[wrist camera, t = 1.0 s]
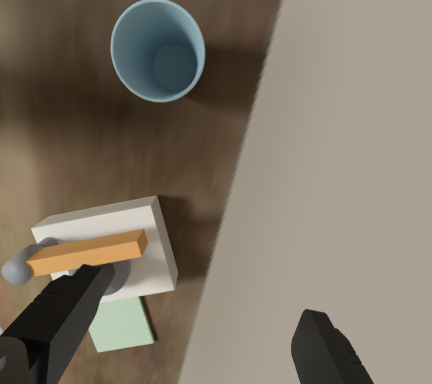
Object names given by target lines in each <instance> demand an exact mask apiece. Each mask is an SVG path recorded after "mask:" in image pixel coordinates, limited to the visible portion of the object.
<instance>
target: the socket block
mask: <svg viewBox="0 0 432 384" xmlns="http://www.w3.org/2000/svg"><path fill="white" fill-rule="evenodd" d="M139 229H144V230H145V234H146V237H147V240H148V245H147V247H146V249H145V251H144V253H143V255H142V257H138V258H132V259H129V260H130V266H131V270H130V274H129V277H128V279H127V281H126V283H125V284H124V286H123V287H122V288H121V289H120V290H119V291H117V292H116V293H114V294H111V295H107V296H103V297H102V299H101V300H100V303H104V302H109V301H115V300H121V299H126V298H132V297H138V296H143V295H149V294H155V293H160V292H166V291H172V290H175V286H176V281H177V276H178V270H177V266H176V263H175V259H174V255H173V252H172V248H171V244H170V241H169V237H168V233H167V230H166V226H165V222H164V219H163V215H162V211H161V208H160V204H159V201H158V197H157V195H155V196H150V197H145V198H140V199H135V200H130V201H124V202H119V203H114V204H109V205H104V206H99V207H94V208H89V209H83V210H78V211H73V212H68V213H63V214H58V215H53V216H49V217H47V218H46V219H44V220H43V221H41V222H40V223H38V224H37V225H35V226H34V227H32V228H31V230H32V232H33V234H34V237H35V239H36V241H37V245H40V246H42V247H50V246H55V245H60V244H65V243H71V242H76V241H81V240H87V239H92V238H97V237H102V236H108V235H113V234H118V233H124V232H129V231H134V230H139ZM62 275H69V272H68V270H67V271H62V272H56V273H51V277H52V279H53V280H55V279H57V278H59V277H60V276H62Z"/></svg>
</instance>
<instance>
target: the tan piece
mask: <svg viewBox="0 0 432 384" xmlns="http://www.w3.org/2000/svg"><path fill="white" fill-rule="evenodd" d="M147 245H148V240H147V237H146V234H145V230H144V229H139V230H134V231H129V232H124V233H118V234H113V235H108V236H102V237H97V238H92V239H87V240H81V241H76V242H71V243H65V244H60V245H55V246H50V247H42V246H40V245H37V244H33V245H29V246H28V247H27V248H25V249H24V250H23V251H21V252H20V253H19V254H17V255H16V256H15V257H13V258H12V259H11V260H9V261H8V262H6V263H5V264H4V265H3V267H2V275H3V277H4V278H5V279H6V280H7V281H8V282H10V283H12V284H15V285H22V284H25V283H26V282H27V281H28V280H30V279H31V278H32V277H34V276H40V275H45V274H51V273H56V272H62V271H67V270H72V269H78V268H80V267H81V266H82V265H83V264H87V265H92V266H94V265H100V264H105V263H111V262H116V261H121V260H127V259H132V258H138V257H142V255H143V253H144V251H145V249H146V247H147Z"/></svg>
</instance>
